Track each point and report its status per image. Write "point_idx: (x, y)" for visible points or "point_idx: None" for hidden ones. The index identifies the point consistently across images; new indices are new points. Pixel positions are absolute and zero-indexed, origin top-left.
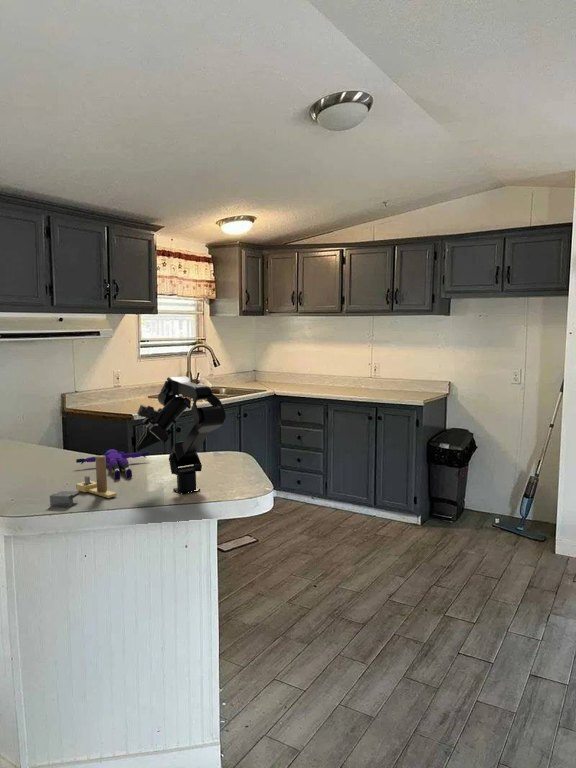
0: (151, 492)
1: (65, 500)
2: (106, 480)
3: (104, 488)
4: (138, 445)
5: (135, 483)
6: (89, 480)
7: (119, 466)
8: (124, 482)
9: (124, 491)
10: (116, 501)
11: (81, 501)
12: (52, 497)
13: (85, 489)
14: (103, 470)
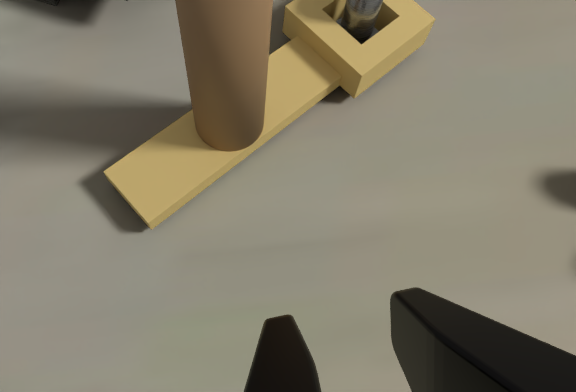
0: None
1: None
2: (223, 109)
3: (200, 126)
4: (257, 361)
5: None
6: (359, 9)
7: None
8: (533, 248)
9: (286, 273)
10: (36, 242)
11: (117, 38)
12: None
13: (285, 23)
14: (186, 32)
